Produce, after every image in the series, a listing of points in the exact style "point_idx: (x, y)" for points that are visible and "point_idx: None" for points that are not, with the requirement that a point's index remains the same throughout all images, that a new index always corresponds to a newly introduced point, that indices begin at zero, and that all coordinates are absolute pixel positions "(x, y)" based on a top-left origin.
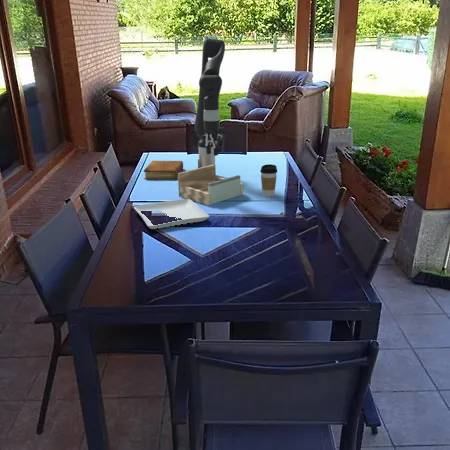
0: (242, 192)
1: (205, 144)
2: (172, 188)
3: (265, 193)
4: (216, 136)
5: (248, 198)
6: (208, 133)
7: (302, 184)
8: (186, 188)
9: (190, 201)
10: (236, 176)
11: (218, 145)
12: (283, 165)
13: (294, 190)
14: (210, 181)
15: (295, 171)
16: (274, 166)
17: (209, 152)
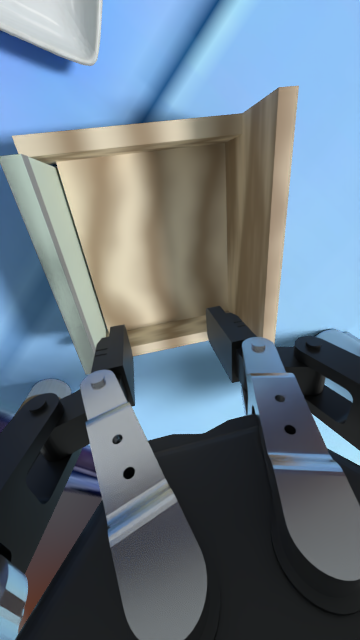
0: None
1: (274, 347)
2: (328, 179)
3: (36, 388)
4: (36, 613)
5: (54, 335)
6: (324, 590)
7: (97, 482)
8: (190, 119)
9: (56, 45)
10: (84, 358)
11: (12, 428)
12: None
13: None
14: (234, 303)
15: None
16: None
17: (210, 331)
